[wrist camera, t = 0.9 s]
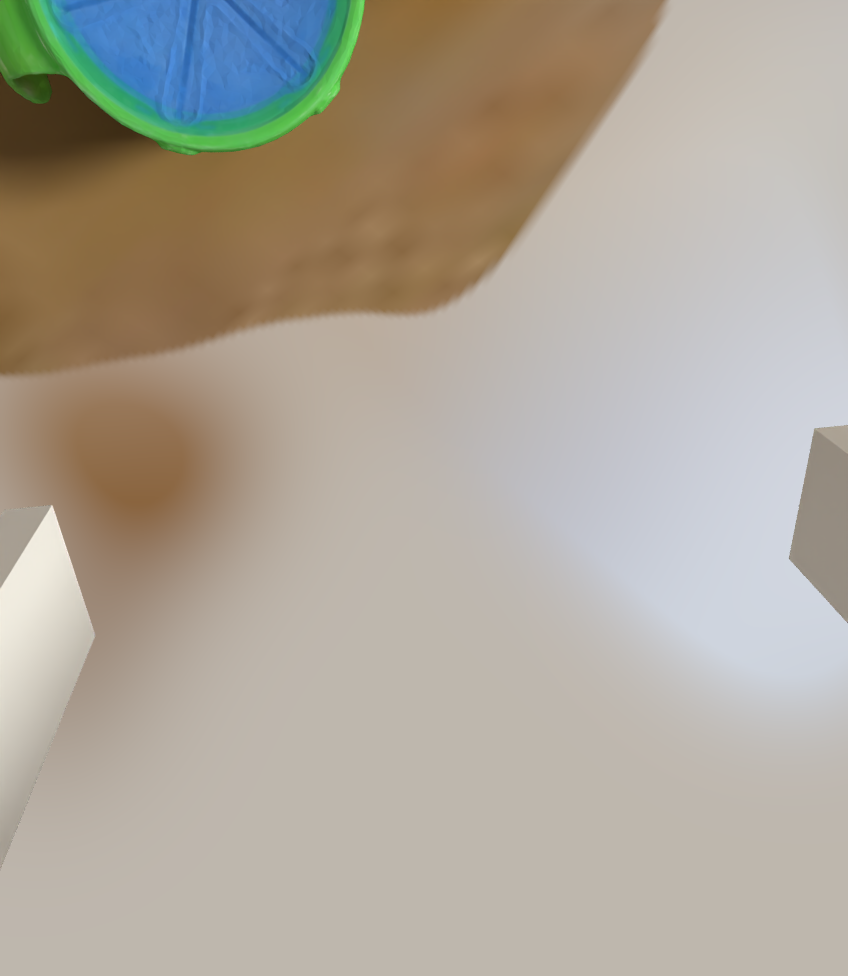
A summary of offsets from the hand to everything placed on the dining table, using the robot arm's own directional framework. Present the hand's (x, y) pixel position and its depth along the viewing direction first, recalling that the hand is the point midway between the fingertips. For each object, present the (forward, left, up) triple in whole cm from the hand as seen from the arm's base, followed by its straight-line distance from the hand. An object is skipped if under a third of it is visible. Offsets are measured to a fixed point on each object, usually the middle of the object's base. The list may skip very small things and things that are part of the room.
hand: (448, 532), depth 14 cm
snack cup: (-13, -2, -27) cm, 30 cm away
